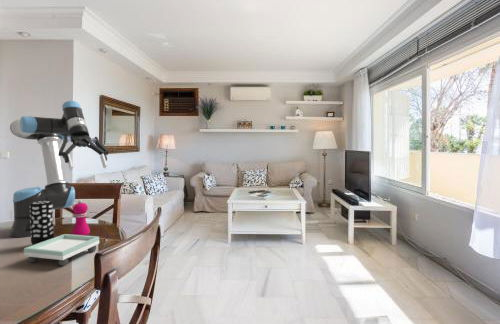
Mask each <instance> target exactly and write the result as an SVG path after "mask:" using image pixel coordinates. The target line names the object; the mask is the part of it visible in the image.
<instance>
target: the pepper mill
mask: <svg viewBox="0 0 500 324" xmlns="http://www.w3.org/2000/svg"><path fill="white" fill-rule="evenodd" d="M88 209H89V207H88V205H87V204H86V203H84V202H83V200H82V199H78V201H77V203H76V204H73V206H72V212H73V213H74V218H75V224H74V226H73V229H72V233H71V234H72V235H84V236H89V234H90V233H91V229H90V226H89V224H88V223H87V220H86V219H87V211H88Z"/></svg>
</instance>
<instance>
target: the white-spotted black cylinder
mask: <svg viewBox="0 0 500 324" xmlns="http://www.w3.org/2000/svg"><path fill="white" fill-rule="evenodd" d="M30 228H31V236H30V246H32V245H35V244H38V243H40V242H43V241H46V240H49V239H52V238H55V230H54V209H53V201H37V202H32V203H30Z"/></svg>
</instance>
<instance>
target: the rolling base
mask: <svg viewBox="0 0 500 324" xmlns="http://www.w3.org/2000/svg"><path fill="white" fill-rule="evenodd" d="M99 244H100V236H97V235H95V236H94V235H88V236H84V235H72V233H71V234H69V233H64V234H60V235H58V236H54V238H52V239H49V240H46V241H43V242H40V243H38V244H35V245H32V246H31V245H29V246H27V247H24V248H23V256H24V257H28V258H27V261H28V262H29V263H37V262H38V261H39V259H49V260H56V261H58V262H57V264H58V265H59V266H61V267H66V265H68V264H69V259H70V258H71V257H73V256H75V255H78V254H79V253H82V252H84V251H86V250H87V251H88V252H89V253H95V251H96V250H97V245H99Z"/></svg>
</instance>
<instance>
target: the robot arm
mask: <svg viewBox="0 0 500 324" xmlns="http://www.w3.org/2000/svg"><path fill="white" fill-rule="evenodd" d="M61 107H62V108H61V109H62V112H63V114H62V116H61V118H56V117H55V118H54V117H41V116H40V117H39V116H38V117H37V116H32V115H29V116H27V115H26V116H25V115H24V116H21V117H20V118H18V119H16V120H14V121H12V122H11V123H10V126H9V130H10V132H11V134H13V135H14V136H15V137H18V138H20V139H24V140H36V141H37V144H39V145H40V146H41V149H42V150H41V151H42V158H43V163H44V164H43V165H44V170H45V177H46V182H47V183H46V185H45V186H44V188H42V187H41V186H35V187H34V186H33V187H28V188H22V189H19V190H16V191H15V192H14V193H13V195H12V196H13V198H12V202H13V223H12V226H11V229H10V230H9V231H10V232H9V233H10V234H9V235H10V237H11V236H12V238H25V237H26V238H27V237H31V228H30V203H32V202H37V201H53V210H60V209H63V210H64V209H65V208H70V207H73V206H74V202H75V199H76V190H75V187H74V186H71V185H70V182H68V181H66V174H65V168H64V164H63V162H64V163H65V164H67V166H68V170H69V171H73V168H74V163H73V160H72V156H71V152H72V151H73V150H74V149H75V148H76V147H78V148H83V147H84V148H88V149H91V150H93V151H94V152H95V153H97V154H99V158H100V160H101V164H102V168H103V169H107V167H108V164H107V161H108V157H107V156H108V155H109V154H110V150H109V149H108V148H107V147H106V146H105V145H104V144H103V143H102V142H101V141H100V140H99V138H98V136H94V137H91V136H90V132H89V129H88V127H87V126H88V125H87V123H86V120H85V117H84V114H83V109H82V107H81V105H80V103H79V102H78V101H75V100H67V101H65V102H63V104H62V106H61ZM69 141H70V142H71V143H72V144H70V146H69V147H68V148H67V149H65V148H66V145H67V144H68V143H69ZM61 143H62V144H61ZM64 150H65V151H64ZM63 159H64V161H63Z"/></svg>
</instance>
